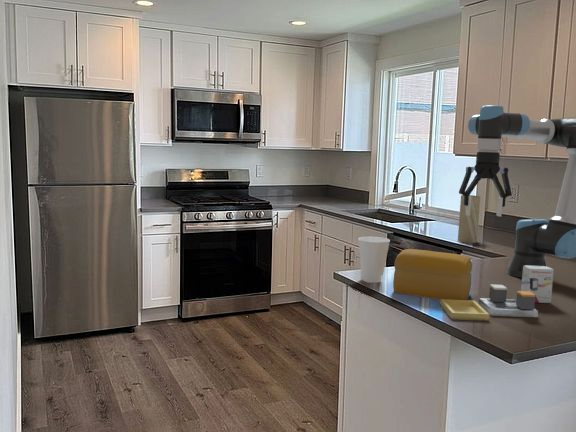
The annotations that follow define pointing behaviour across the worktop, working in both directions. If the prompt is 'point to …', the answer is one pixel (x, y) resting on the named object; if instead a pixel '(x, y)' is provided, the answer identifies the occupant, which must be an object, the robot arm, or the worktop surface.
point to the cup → (373, 257)
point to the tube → (469, 221)
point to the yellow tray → (464, 310)
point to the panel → (506, 308)
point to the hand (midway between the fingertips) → (483, 215)
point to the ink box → (538, 282)
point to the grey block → (525, 300)
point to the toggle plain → (498, 293)
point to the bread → (432, 274)
